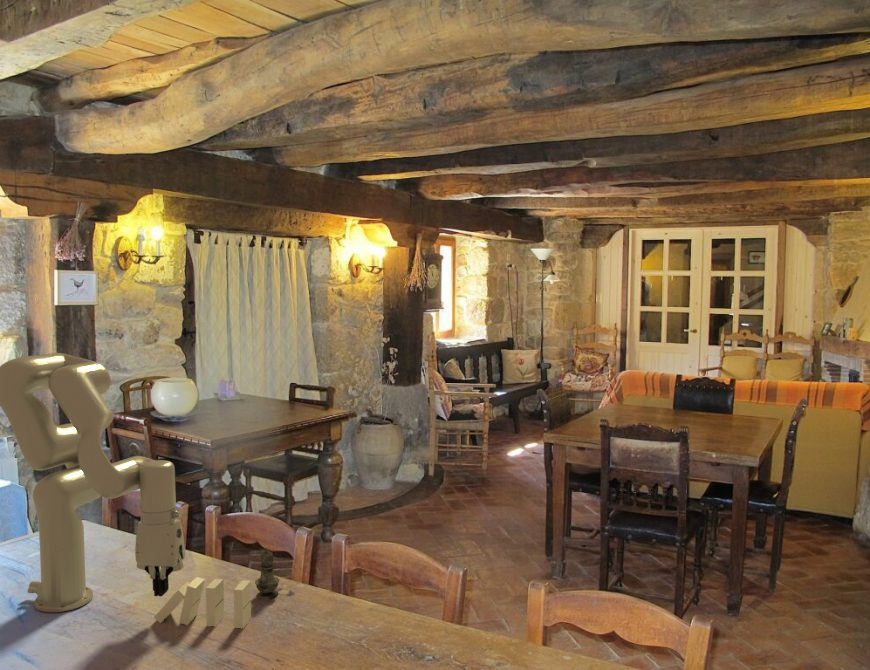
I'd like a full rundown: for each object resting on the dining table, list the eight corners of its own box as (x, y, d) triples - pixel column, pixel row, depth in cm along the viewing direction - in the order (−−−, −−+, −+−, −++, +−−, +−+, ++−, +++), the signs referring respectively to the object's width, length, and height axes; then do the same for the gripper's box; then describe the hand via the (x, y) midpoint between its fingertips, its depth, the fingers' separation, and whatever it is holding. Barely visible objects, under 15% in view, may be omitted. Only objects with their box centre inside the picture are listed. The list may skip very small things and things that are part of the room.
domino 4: (234, 628, 166) (233, 589, 165) (242, 618, 171) (242, 580, 170) (243, 629, 166) (242, 590, 165) (251, 618, 171) (250, 580, 170)
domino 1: (153, 617, 168) (178, 589, 167) (164, 607, 173) (187, 580, 172) (160, 623, 168) (184, 596, 167) (170, 613, 173) (194, 586, 172)
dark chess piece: (273, 601, 180) (273, 553, 179) (251, 599, 181) (250, 551, 180) (283, 591, 185) (282, 544, 184) (261, 589, 187) (260, 542, 186)
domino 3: (206, 626, 167) (205, 587, 166) (215, 616, 172) (215, 578, 171) (215, 627, 166) (214, 588, 166) (224, 616, 171) (223, 579, 171)
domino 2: (179, 622, 167) (187, 585, 166) (188, 612, 172) (196, 576, 171) (187, 625, 167) (195, 588, 166) (197, 615, 172) (205, 579, 171)
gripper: (197, 511, 171) (199, 588, 173) (135, 509, 173) (138, 585, 175) (182, 522, 164) (184, 602, 165) (118, 519, 166) (121, 599, 167)
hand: (160, 593), depth 170 cm, fingers closed
